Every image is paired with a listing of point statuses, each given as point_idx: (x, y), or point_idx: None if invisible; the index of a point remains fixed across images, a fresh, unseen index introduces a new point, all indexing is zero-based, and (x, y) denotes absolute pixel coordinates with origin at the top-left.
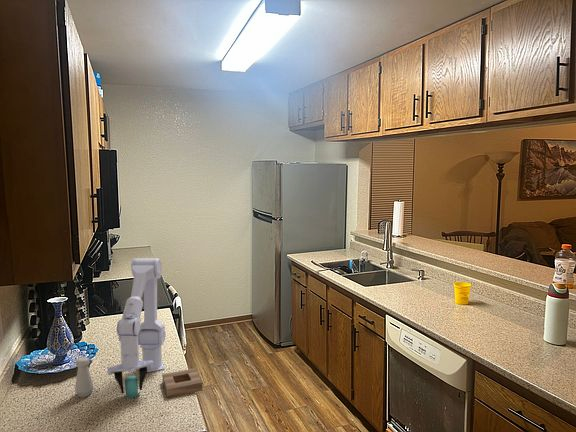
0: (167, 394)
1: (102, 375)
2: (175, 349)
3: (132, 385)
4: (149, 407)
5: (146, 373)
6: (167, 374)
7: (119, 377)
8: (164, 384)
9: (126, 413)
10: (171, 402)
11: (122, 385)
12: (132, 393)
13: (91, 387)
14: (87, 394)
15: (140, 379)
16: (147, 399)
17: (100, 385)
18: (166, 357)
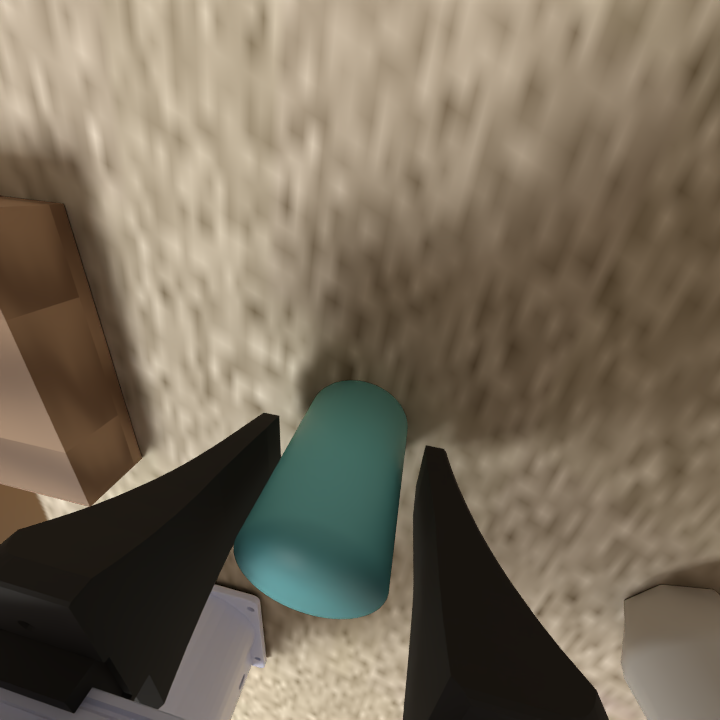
0: (26, 204)
1: None
2: None
3: (322, 463)
4: (220, 71)
5: (15, 532)
6: (49, 484)
7: (528, 705)
8: (87, 393)
9: (503, 49)
10: (2, 68)
11: (440, 516)
12: (350, 403)
13: (673, 658)
14: (685, 601)
15: (195, 492)
16: (240, 276)
17: None
18: None
